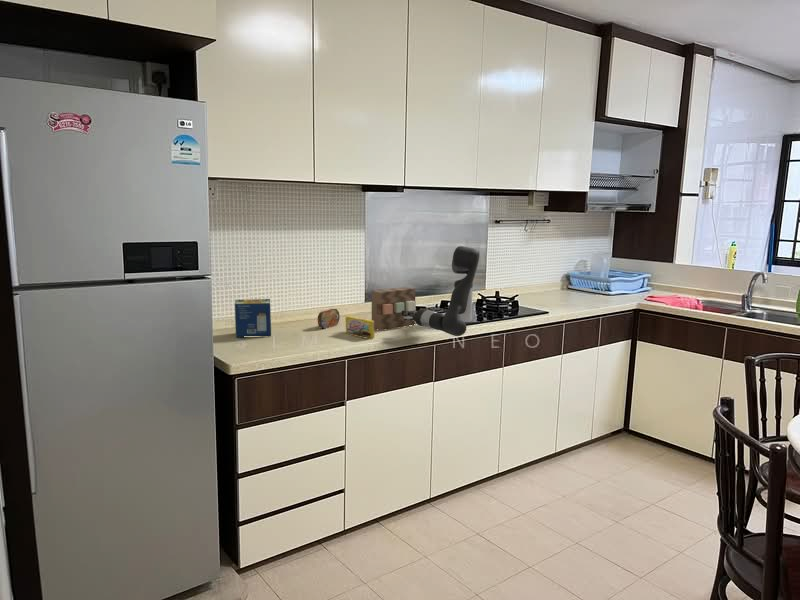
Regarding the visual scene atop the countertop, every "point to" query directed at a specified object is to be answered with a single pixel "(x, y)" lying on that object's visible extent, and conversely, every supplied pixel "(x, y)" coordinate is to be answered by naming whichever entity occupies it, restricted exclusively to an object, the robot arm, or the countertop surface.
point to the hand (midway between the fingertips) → (402, 312)
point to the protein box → (253, 317)
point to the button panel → (392, 297)
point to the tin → (328, 318)
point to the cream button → (410, 305)
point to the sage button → (398, 307)
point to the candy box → (360, 327)
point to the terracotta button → (387, 308)
